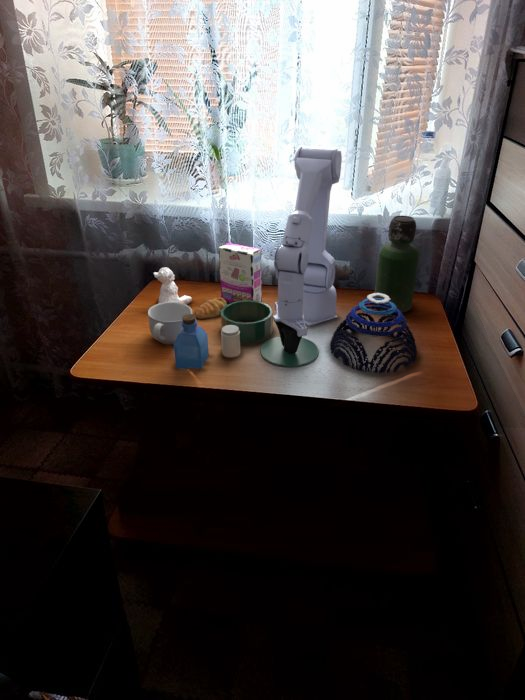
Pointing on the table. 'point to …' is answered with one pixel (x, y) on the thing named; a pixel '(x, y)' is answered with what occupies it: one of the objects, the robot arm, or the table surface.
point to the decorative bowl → (361, 320)
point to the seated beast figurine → (169, 288)
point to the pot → (249, 311)
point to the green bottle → (398, 264)
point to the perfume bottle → (191, 344)
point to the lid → (281, 357)
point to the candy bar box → (240, 273)
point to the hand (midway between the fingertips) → (289, 348)
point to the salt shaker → (230, 341)
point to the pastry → (210, 308)
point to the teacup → (167, 320)
